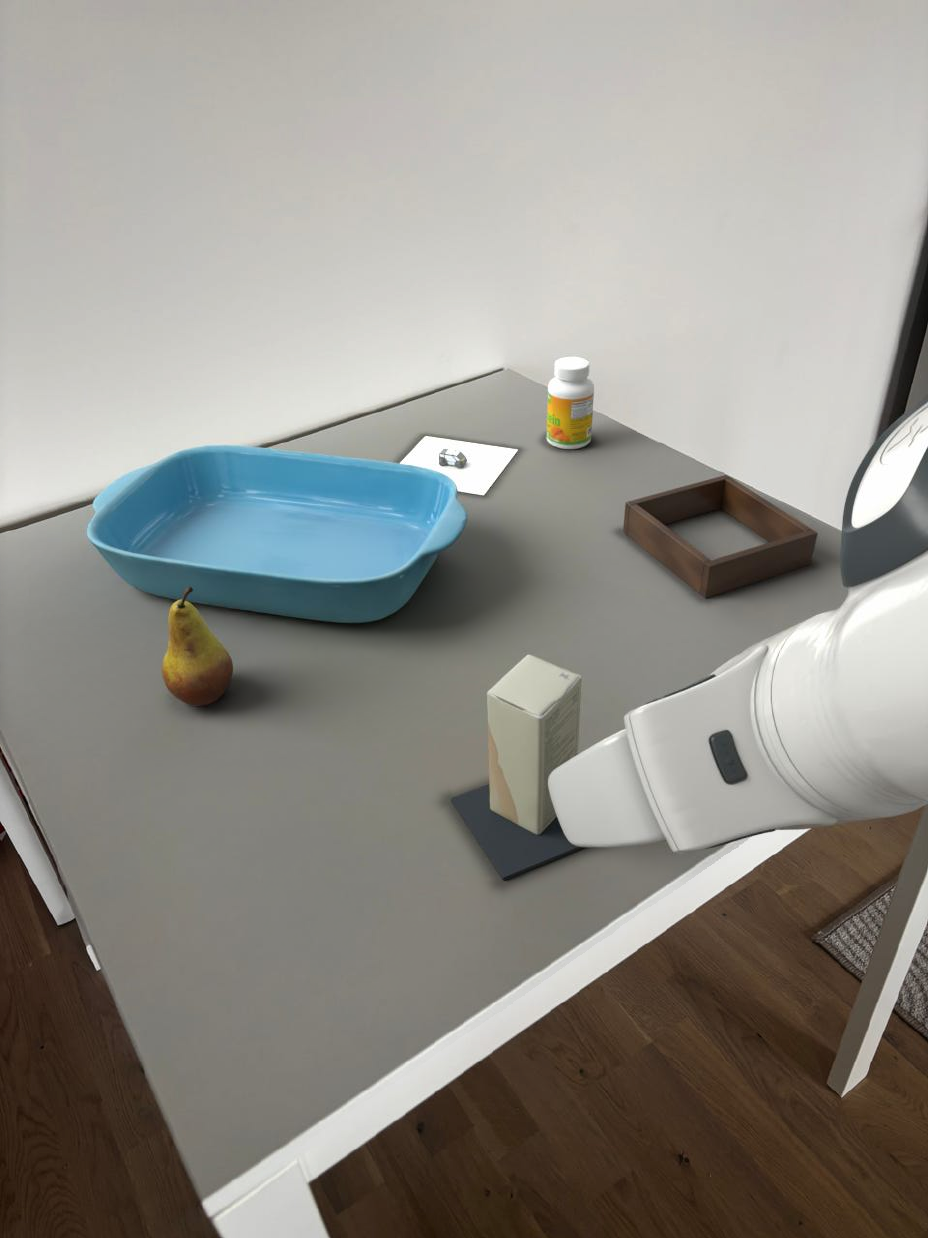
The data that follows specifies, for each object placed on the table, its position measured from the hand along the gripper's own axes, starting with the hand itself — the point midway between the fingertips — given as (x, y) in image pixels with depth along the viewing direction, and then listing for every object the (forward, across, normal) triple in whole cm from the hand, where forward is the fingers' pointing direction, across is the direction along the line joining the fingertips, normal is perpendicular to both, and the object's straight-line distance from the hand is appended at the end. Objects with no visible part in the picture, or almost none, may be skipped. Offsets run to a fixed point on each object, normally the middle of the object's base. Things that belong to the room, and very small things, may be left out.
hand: (673, 767), depth 56 cm
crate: (+29, -29, -18) cm, 45 cm away
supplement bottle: (+48, -29, -39) cm, 68 cm away
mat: (+15, +4, 0) cm, 15 cm away
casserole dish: (+41, +10, -30) cm, 51 cm away
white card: (+49, -14, -40) cm, 64 cm away
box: (+15, +3, 0) cm, 15 cm away
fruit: (+31, +22, -17) cm, 41 cm away
